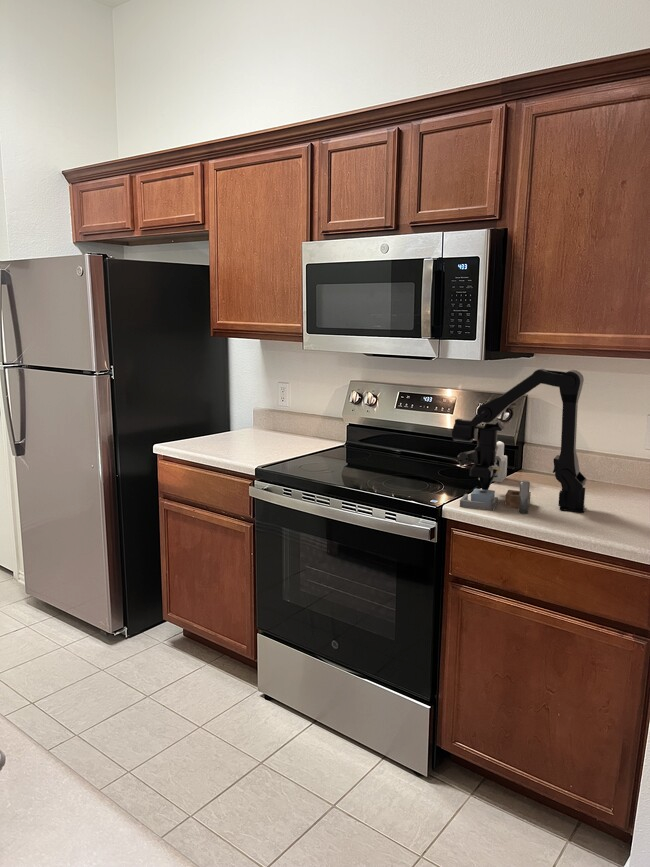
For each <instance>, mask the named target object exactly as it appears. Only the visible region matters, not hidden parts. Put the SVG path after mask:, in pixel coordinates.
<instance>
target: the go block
mask: <svg viewBox="0 0 650 867" xmlns="http://www.w3.org/2000/svg"><path fill="white" fill-rule="evenodd" d="M519 494H520V490H515V489H508V490H507V491H506V494H505V496H504V508H505V507H506V508H514V509H519ZM530 505H531V491H529V504H528V508H529V507H530Z"/></svg>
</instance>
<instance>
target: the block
mask: <svg viewBox="0 0 650 867" xmlns="http://www.w3.org/2000/svg"><path fill="white" fill-rule="evenodd" d="M495 497H496V490H494V489H493V490H492V489H488V490H484V489H482V488H474V489H473V491H472V492H471V493H470V501H476V502H485V503H491V502H492V501H493V499H494V498H495Z"/></svg>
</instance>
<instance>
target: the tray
mask: <svg viewBox="0 0 650 867" xmlns="http://www.w3.org/2000/svg"><path fill="white" fill-rule="evenodd" d="M498 499H499V498H498V497H497V496H495V498H494V499H493V501H492V502H491V503H485V502H476V501H471V500H469V494H468V493H465V494H463V496H462V497H461V498H460V499H459V507H461V506H463V507H462V508H469V507H470V508H471V509H478V508H480V510H486V509H488V510H487V511H489V510H490V511H494V510H495V508H496V506H497V505H498V503H499V502H498V501H499V500H498ZM493 509H494V510H493Z"/></svg>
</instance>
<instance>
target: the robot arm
mask: <svg viewBox="0 0 650 867" xmlns="http://www.w3.org/2000/svg"><path fill="white" fill-rule="evenodd" d="M542 384H543V385H547V386H551V387H555V388H558V389H559V394H560V395H559V396H560V399H561V402H562V410H561V412H562V415H561V416H562V417H561V418H562V419H561V438H560V454H559V455H558V454H556V456H555V457H554V458H553V460H552V461H553V471H552V473H553V474H554V476H555V479H556V480H557V481H558V483H560V485H561V490H559V493H558V507H559V510H560V511H567V512H568V511H569V512H577V513H584V512H585V506H586V504H585V502H586V501H585V500H586V499H585V498H586V487H584V486H585V484H586V483H587V478H586V477H585V475H584V474H583V473H581V471H580V464H579V458H578V455H577V448H576V447H577V427H578V424H577V423H578V409H579V408H578V405H579V400H580V396H581V393H582V390H583V385H584V375H583V374H582V373H581V372H580V371H578V370H574V369H571V370H568V371H561V370H560V371H559V370H551V369H545V368H538V369H536V370H534V371H533V373H531V374H530V375H529V376H527V377H526V378H525V379H523V380H521V381H520V382H519V383H517V384H515V385H514V386H513V387H511V388H510V389H509V390H507V391H506V392H504V393H503V394H502V395H500V396H498V397H495V398H493V399H491V400H489V401H487V402H484V403H482V404H481V405H479V406H478V407H477V409H476V415H475V416H474V417H473V418H472V419H471V420H470V419H463V418H455V419H454V424H453V427H452V430H451V437H452V438H451V439H452V440H453V441H455V442H458V441H459V442H466V443H473V441H474V440H477V443H476V445H477V446H476V447H474V450H469V451H464V452H460V453H459V454H458V455H457V461H456V462H458V463H459V466H460V467H463V466H465V465H468V464H472V463H473V466H472V467H471V468H470V469H469V477H473V478H478V480H479V479H480V480H479V484H480V487H481V488H480V489H484V490H490V487H491V484H492V483H493V482H494V481H493V478H494V476H495V474H496V472H497V470H495V469H493V467H492V466H494V465H495V464H496V465H497V466H498V467H500V465H501V459H500V457H499V456H496V451H497V449H498V446H497V441H498V431H500V432H501V431H503V430H505V426H504V425H503V424H502V423H501V422H500V421H497V422H496V423H491V422H492V421H494V420H495V421H496V420H497V419H498V418H499V417H501V415H502V414H503V413H504V412H505V411H506V410H507V409H509V407H510V406H511V405H512V404H513V403H515V402H517V401H518V400H519V399H520V398H522V397H523V396H525V395H526V394H528V393H529V392H531V391H532V390H533V389H535V388H536V387H538V386H539V385H542ZM482 423H485V424H484V425H480V424H482Z"/></svg>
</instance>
